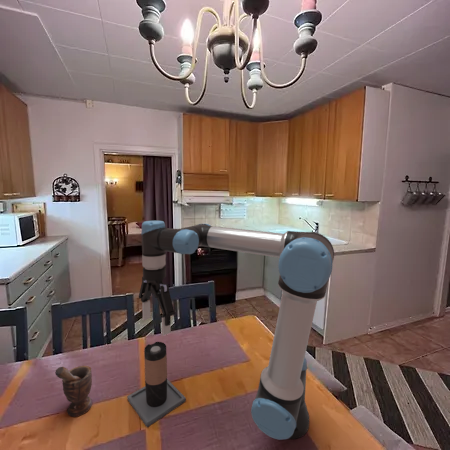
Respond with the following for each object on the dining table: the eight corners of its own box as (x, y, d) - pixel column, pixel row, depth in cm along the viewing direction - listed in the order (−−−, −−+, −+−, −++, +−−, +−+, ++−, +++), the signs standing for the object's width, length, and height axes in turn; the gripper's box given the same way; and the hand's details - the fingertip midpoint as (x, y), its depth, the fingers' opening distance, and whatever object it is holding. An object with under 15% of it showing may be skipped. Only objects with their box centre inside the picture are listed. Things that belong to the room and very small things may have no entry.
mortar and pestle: (84, 425, 81) (80, 368, 79) (55, 429, 80) (50, 371, 77) (96, 397, 93) (93, 346, 90) (71, 400, 91) (67, 348, 89)
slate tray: (185, 401, 91) (185, 397, 91) (146, 427, 81) (146, 423, 81) (164, 379, 102) (164, 375, 102) (127, 399, 92) (127, 396, 91)
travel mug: (161, 409, 87) (160, 356, 84) (141, 405, 88) (139, 352, 86) (171, 392, 94) (170, 342, 92) (152, 389, 96) (150, 340, 93)
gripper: (185, 272, 79) (185, 336, 82) (147, 257, 97) (148, 310, 99) (163, 278, 74) (165, 345, 77) (127, 261, 92) (130, 316, 94)
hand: (156, 325), depth 88 cm, fingers open, 13 cm apart
